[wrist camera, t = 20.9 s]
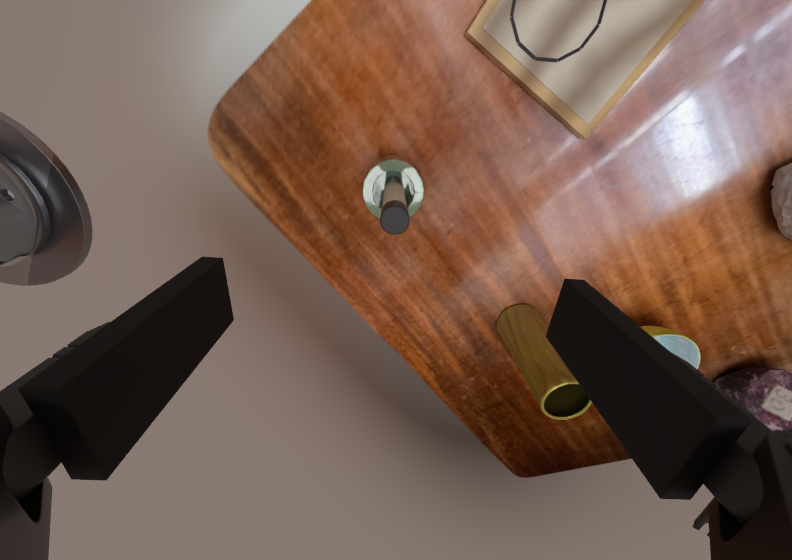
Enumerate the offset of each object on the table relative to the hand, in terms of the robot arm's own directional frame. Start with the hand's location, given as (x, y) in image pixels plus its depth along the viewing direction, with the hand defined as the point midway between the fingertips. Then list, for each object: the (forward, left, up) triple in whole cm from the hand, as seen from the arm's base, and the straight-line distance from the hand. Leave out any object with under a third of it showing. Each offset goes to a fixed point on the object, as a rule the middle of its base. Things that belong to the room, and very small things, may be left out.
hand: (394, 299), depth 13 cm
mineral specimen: (+61, +5, -27) cm, 67 cm away
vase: (+25, -6, -27) cm, 37 cm away
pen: (0, 0, -26) cm, 26 cm away
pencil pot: (0, 0, -27) cm, 27 cm away
